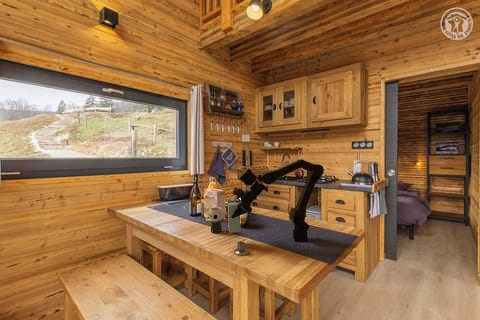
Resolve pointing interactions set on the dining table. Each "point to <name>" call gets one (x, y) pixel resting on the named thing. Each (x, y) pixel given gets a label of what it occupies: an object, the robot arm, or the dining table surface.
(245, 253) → the post
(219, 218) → the cream head figurine
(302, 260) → the dining table surface
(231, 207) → the sage green block
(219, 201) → the coffeecake box
